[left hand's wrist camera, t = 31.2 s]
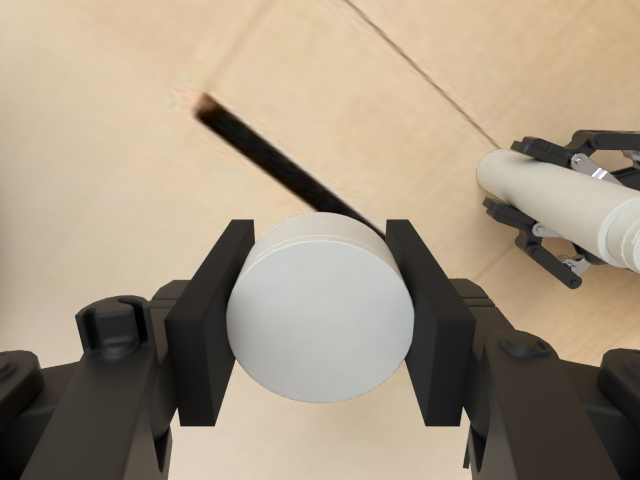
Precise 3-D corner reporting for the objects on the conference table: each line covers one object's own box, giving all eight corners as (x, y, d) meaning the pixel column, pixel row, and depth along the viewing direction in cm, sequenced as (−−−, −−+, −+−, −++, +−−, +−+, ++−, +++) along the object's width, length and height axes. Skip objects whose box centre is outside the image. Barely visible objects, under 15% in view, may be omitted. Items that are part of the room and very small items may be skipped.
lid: (219, 318, 12) (198, 366, 10) (278, 184, 11) (269, 207, 9) (354, 371, 13) (361, 426, 11) (427, 252, 12) (451, 288, 10)
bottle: (527, 154, 37) (730, 217, 19) (509, 196, 39) (683, 292, 20) (485, 144, 37) (651, 198, 19) (469, 186, 38) (609, 276, 20)
